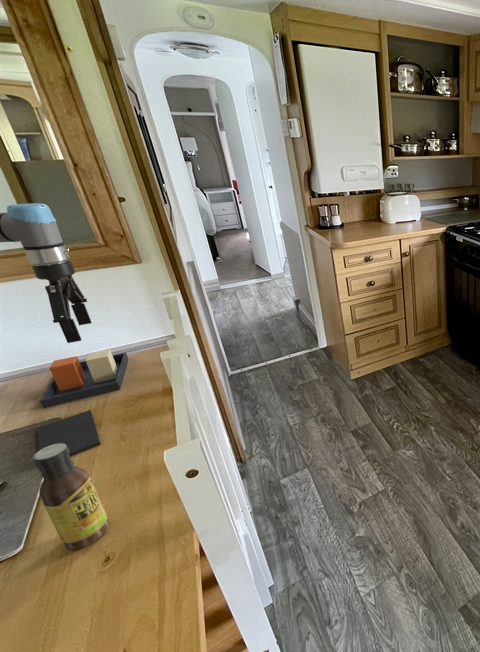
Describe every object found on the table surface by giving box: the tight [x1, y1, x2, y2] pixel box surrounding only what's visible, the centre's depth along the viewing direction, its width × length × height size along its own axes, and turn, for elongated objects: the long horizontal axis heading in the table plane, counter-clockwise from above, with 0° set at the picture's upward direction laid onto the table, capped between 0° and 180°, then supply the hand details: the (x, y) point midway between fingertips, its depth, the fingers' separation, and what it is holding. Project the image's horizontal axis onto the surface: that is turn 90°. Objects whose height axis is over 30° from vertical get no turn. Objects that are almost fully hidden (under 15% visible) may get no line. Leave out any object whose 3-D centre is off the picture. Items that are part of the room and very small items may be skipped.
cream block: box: [85, 349, 118, 383], centre depth 116 cm, size 5×5×8 cm
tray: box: [39, 352, 129, 409], centre depth 115 cm, size 21×16×3 cm
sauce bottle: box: [32, 443, 109, 550], centre depth 67 cm, size 6×6×20 cm
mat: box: [36, 409, 102, 457], centre depth 94 cm, size 10×18×1 cm, turn 48°
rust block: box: [49, 355, 86, 391], centre depth 112 cm, size 5×5×8 cm
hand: (80, 332), depth 110 cm, fingers open, 13 cm apart
